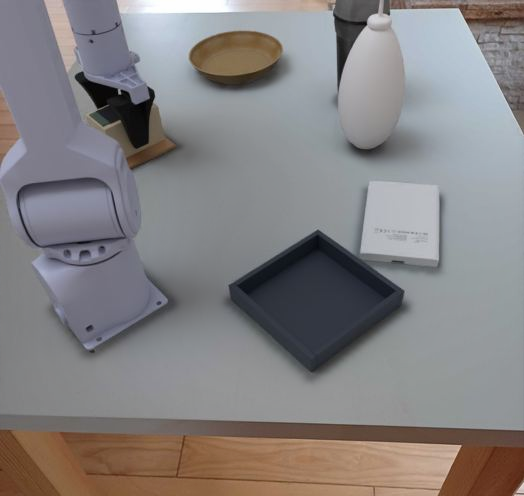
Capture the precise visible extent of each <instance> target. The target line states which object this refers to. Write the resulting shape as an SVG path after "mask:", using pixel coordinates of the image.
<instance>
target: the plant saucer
mask: <svg viewBox="0 0 524 496" xmlns="http://www.w3.org/2000/svg"><path fill="white" fill-rule="evenodd" d="M283 52H284V47H283V44H282V43H281V41H280V40H279V39H278V38H276V37H275V36H273V35H271V34H267V33H264V32H261V31H256V30H231V31H225V32H219V33H216V34H212V35H210V36H208V37H205V38H203V39H201V40H200V41H199V42H197V43H196V44H195V45H194V46H192V47H191V49H190V51H189V52H188V60H189V63H190V64H191V65H192V66H193V68H195V70H196V71H197V72H198V73H200V74H201V75H202V76H204V77H205V78H207V79H208V80H211V81H212V82H215V83H218V84H224V85H241V84H247V83H252V82H254V81H257V80H259V79H261V78H262V77H264V76H265V75H267V74H268V73H269V72H270V71H271V70H272V69H273V68H274V67H275V65H276V64H277V63H278V62H279V60H280V59H281V57H282V55H283Z"/></svg>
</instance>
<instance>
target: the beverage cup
mask: <svg viewBox="0 0 524 496" xmlns="http://www.w3.org/2000/svg"><path fill="white" fill-rule="evenodd" d="M379 4H380V0H335V1H334V8H333V10H332V16H333V23H334V25H333V26H334V32H335V39H336V40H335V41H336V43H335V45H336V86H337V87H336V89H337V90H336V91H337V94H338V93H339V86H340V81H341V77H342V73H343V69H344V66H345V63H346V60H347V58H348V55H349V53H350V51H351V49H352V46H353V44H354V43H355V41H356V39H357V38H358V36H359V34H360V33H361V32H362V30H363V29H364V28H365V27H366V26H367V20H368V18H369V17H370V16H371V15H374V14H378V11H379ZM390 6H391V5H390V0H384V5H383V14H387V15H389V16H390V15H391V9H390V8H391V7H390ZM390 17H391V16H390Z"/></svg>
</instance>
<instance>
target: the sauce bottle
mask: <svg viewBox="0 0 524 496" xmlns="http://www.w3.org/2000/svg"><path fill="white" fill-rule="evenodd" d="M383 5H384V0H380V4H379V11H378V14H374V15H371V16H370V17H369V18H368V20H367V26H366V27H365V28H364V29H363V30H362V32H361V33H360V34H359V36H358V38H357V39H356V41H355V43H354V44H353V46H352V49H351V51H350V53H349V55H348V58H347V60H346V63H345V66H344V69H343V73H342V77H341V81H340V86H339V93H338V92H337V111H338V118H339V123H340V126H341V129H342V132H343V134H344V137H346V139H347V141H348V142H349V143H351V144H352V145H353V146H354V147H356V148H358V149H361V150H371V149H374V148H376V147H378V146H379V145H382V144H383V143H385V142H386V141H387V140H388V138H389V137H390V136H391V135H392V133H393V131H394V130H395V129H396V126H397V124H398V122H399V120H400V118H401V114H402V111H403V108H404V107H403V106H404V102H405V101H404V100H405V91H406V71H405V61H404V57H403V52H402V49H401V45H400V41H399V39H398V36H397V34H396V32H395V30H394V29H393V27H392V25H393V24H392V23H393V19H392V17H391V16H389V15H387V14H383Z"/></svg>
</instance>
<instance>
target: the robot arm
mask: <svg viewBox="0 0 524 496" xmlns="http://www.w3.org/2000/svg"><path fill="white" fill-rule="evenodd" d="M61 1H62V4H63V7H64V10H65V14H66V16H67V19H68V23H69V25H70V26H69V27H70V29H71V32H72V35H73V37H74V42H75V45H76V46H74V47H73V48H72V49H73V52H74V55H75V59H76V61H77V63H78V64H79V65H80V66H81V68H82V71H79V72H77V73H76V74H75V75H74V80H75V81H76V82H77V83H78V84H79V85H80V86H81V87H82V88H83V90H84V91H85V92H86V94H87V95H88V96H89V98H90V100H91V101H92V103H93V104H94V106H95V108H96V110H98V109H100V108H102V107H105V106H107V105H110V106H111V108H112V109H113V110H114V111H115V113H116V114H117V115H118V117H119V119H120V120H121V122H122V124H123V126H124V129H125V131H126V133H127V136H128V138H129V140H130V142H131V144H132V146H133V147H134V148H135V149H138V148H140V147H142V146H144V145H146V144H148V143H149V119H150V112H151V108H152V104H153V103H154V101H155V99H156V93H155V90H154V89H153V88H152V87H150V86H148V84H147V82H146V81H145V80H144V79H143V78H142V77H141V74H140V73H139V70H138V68H137V66H136V64H138V63H140V62H141V57H140V55H139V54H138V53H137V52H135V51H134V50H130V49H129V46H128V41H127V37H126V33H125V29H124V25H123V21H122V17H121V13H120V9H119V4H118V1H117V0H61ZM61 52H62V51H61V50H60V47H59V43H58V40H57V37H56V34H55V31H54V27H53V23H52V21H51V17H50V14H49V12H48V8H47V5H46V2H45V0H0V91H1V93H2V96H3V98H4V100H5V103H6V105H7V107H8V108H7V109H8V110H9V112H10V115H11V117H12V120H13V123H14V125H15V127H16V129H17V132H18V134H19V138H18V139H17V141H16V142H15V143H14V144H13V145H12V146H11V147H10V149H9V150H8V151H7V153H6V154H5V155H4V157H3V159H2V161H1V164H0V187H1V190H2V191H3V194H4V197H5V201H6V206H7V212H8V215H9V219H10V222H11V224H12V227H13V229H14V231H15V233H16V235H17V236H18V237H19V239H20V240H21V241H23V242H24V243H25V244H26V245H27V246H28V247H30V248H32V249H42V251H43V252H42V253H41V254H40V255H39V256H38V257H36V258H35V259H34V260H32V261H31V262H30V266H31V268H32V270H33V272H34V274H35V276H36V278H37V279H38V281H39V283H40V284H41V286H42V288H43V289H44V291H45V293H46V295H47V296H48V298H49V300H50V302H51V303H52V306H53V308H54V312H55V314H56V315H57V317H58V318H59V320H60V321H61V322H62V324H63V325H64V326H68V328H69V329H70V331H71V332H72V333H73V334H74V335H75V336H76V338H77V339H78V340H79V342H80V343H81V344H82V345H83V347H84V348H85V349H86V351H88V352H92V351H95V350H94V349H95V348H97V347H98V346H100V345H101V344H103V343H105V342H107V341H108V340H110V339H111V338H114V337H115V336H116V335H118V334H120V333H122V332H123V331H125V330H126V329H128V328H130V327H131V326H132V325H134V324H136V323H138V322H139V321H141V320H143V319H144V318H146V317H148V316H149V315H151V314H153V313H154V312H156V311H158V310H159V309H162V308H163V307H165V306H166V305H167V304H168V303H169V299H168V298H167V297H166V295H165V294H163V293H162V292H161V291H160V290H159V289H158V287H156V285H154V284H153V282H151V281H150V279H149V278H147V275H146V272H145V269H144V266H143V263H142V259H141V257H140V254H139V251H138V247H137V244H136V242H135V238H136V237H137V236H138V233H139V232H140V230H141V229H142V228H141V227H142V208H141V207H142V206H141V200H140V194H139V190H138V185H137V181H136V179H135V176H134V173H133V171H132V169H129V166H128V164H127V161H126V158H125V154H124V151H123V149H121V148H120V144H119V142H117V141H116V140H115V139H113V138H111V137H110V136H108V135H106V134H104V133H102V132H100V131H99V130H97V129H95V128H93V127H91V126H90V125H89V123H87V122H85V121H84V120H83V119H82V116H81V113H80V110H79V106H78V103H77V100H76V97H75V94H74V90H73V87H72V84H71V81H70V78H69V75H68V72H67V68H66V66H65V62H64V58H63V56H62V53H61ZM119 91H120V92H119ZM158 303H160V304H158ZM98 339H101V340H98Z"/></svg>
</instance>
